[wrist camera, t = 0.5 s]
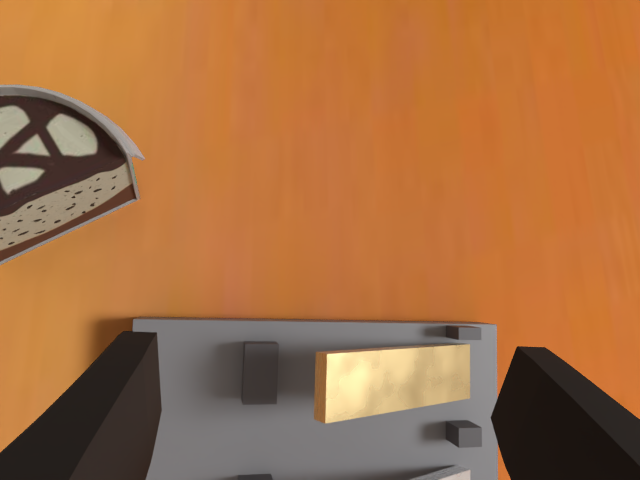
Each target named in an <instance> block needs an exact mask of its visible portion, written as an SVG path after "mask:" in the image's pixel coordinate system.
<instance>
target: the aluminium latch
mask: <svg viewBox="0 0 640 480" xmlns="http://www.w3.org/2000/svg"><path fill="white" fill-rule="evenodd" d="M409 480H470V469H467V468H464V467H461V466H459V465H456V466H453V467H450V468H446V469H443V470H440V471H436V472H433V473H429V474H426V475H423V476H419V477H416V478H413V479H409Z"/></svg>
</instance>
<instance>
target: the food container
mask: <svg viewBox="0 0 640 480" xmlns="http://www.w3.org/2000/svg"><path fill="white" fill-rule="evenodd" d="M133 156H134V157H136V158H138V159H140V160H144V159H145V158H144V156H143V155H142V153H141V152H140V150H139V149H138V147H137V146H136V144H135V143H134V142H133V141H132V140H131V139H130V138H129V136H128V135H127V134H126V133H125V132H124V131H123V130H122V129H121V128H120V127H119V126H117V125H116V124H115V123H114V122H113V121H111V120H110V119H109V118H108V117H107V116H105V115H103V114H102V113H100V112H98V111H97V110H95V109H93V108H92V107H90V106H88V105H86V104H84V103H83V102H81V101H79V100H76V99H74V98H71V97H69V96H67V95H64V94H62V93H59V92H55V91H52V90H48V89H44V88H40V87H33V86H25V85H0V265H1V264H4V263H6V262H8V261H10V260H12V259H14V258H16V257H18V256H21V255H23V254H25V253H27V252H29V251H31V250H33V249H35V248H37V247H40V246H42V245H44V244H46V243H48V242H50V241H52V240H54V239H57V238H59V237H61V236H63V235H65V234H67V233H69V232H71V231H74V230H76V229H78V228H80V227H82V226H84V225H86V224H88V223H90V222H93V221H95V220H97V219H99V218H101V217H103V216H105V215H107V214H110V213H112V212H114V211H116V210H118V209H120V208H122V207H124V206H127V205H129V204H131V203H133V202H135V201H137V200H139V199H140V195H139V190H138V186H137V181H136V177H135V172H134V167H133V163H132V158H131V157H133Z"/></svg>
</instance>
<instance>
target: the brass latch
mask: <svg viewBox="0 0 640 480" xmlns="http://www.w3.org/2000/svg"><path fill="white" fill-rule="evenodd" d="M469 398H470V344H464V343H445V344H430V345H414V346H399V347H383V348H368V349H352V350H337V351H321V352H316V358H315V394H314V420H317V421H320V422H322V423H325V424H326V423H332V422H338V421H343V420H349V419H355V418H361V417H366V416H372V415H378V414H384V413H389V412H395V411H401V410H406V409H412V408H418V407H424V406H429V405H435V404H441V403H447V402H452V401H458V400H464V399H469Z"/></svg>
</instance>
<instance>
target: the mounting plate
mask: <svg viewBox="0 0 640 480" xmlns="http://www.w3.org/2000/svg"><path fill="white" fill-rule="evenodd" d="M133 331H134V332H157V341H158V357H159V373H160V389H161V406H162V412H161V417H160V422H159V427H158V432H157V437H156V441H155V446H154V451H153V455H152V460H151V464H150V467H149V470H148V473H147V477H146V480H409V479H413V478H416V477H419V476H423V475H426V474H429V473H433V472H436V471H440V470H443V469H446V468H450V467H453V466H456V465H459V466H461V467H464V468H467V469H470V480H498V442H497V438H496V435H495V431H494V428H493V424H492V421H491V415H492V412H493V410H494V407H495V404H496V402H497V325H496V324H488V323H481V322H439V321H375V320H312V319H248V318H185V317H138V318H135V319H133ZM445 343H464V344H470V398H469V399H464V400H458V401H452V402H447V403H441V404H435V405H429V406H424V407H418V408H412V409H406V410H401V411H395V412H389V413H384V414H378V415H372V416H366V417H361V418H355V419H349V420H343V421H338V422H332V423H326V424H325V423H322V422H320V421H317V420H314V394H315V358H316V352H321V351H337V350H352V349H368V348H383V347H399V346H414V345H430V344H445Z"/></svg>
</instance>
